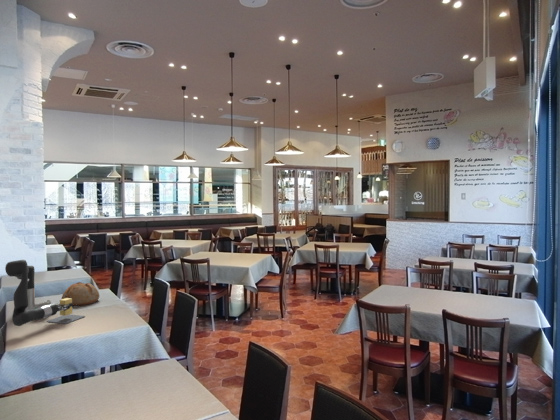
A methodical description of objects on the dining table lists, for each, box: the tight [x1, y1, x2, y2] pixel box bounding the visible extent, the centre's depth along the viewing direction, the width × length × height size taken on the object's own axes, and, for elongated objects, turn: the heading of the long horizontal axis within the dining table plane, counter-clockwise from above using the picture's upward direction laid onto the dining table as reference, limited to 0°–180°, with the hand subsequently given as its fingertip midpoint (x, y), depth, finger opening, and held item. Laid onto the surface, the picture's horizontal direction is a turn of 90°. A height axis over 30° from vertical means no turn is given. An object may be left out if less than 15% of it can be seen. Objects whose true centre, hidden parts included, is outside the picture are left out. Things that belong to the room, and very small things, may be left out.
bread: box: [60, 281, 100, 306], centre depth 300 cm, size 26×23×15 cm
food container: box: [34, 299, 52, 309], centre depth 262 cm, size 12×6×10 cm, turn 168°
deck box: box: [59, 298, 73, 316], centre depth 256 cm, size 5×6×10 cm
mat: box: [46, 314, 86, 325], centre depth 256 cm, size 16×16×1 cm
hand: (69, 304), depth 258 cm, fingers closed on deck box, 4 cm apart
